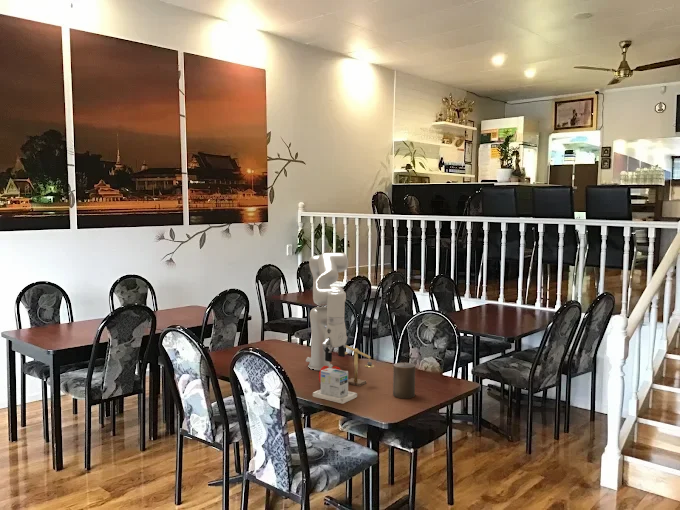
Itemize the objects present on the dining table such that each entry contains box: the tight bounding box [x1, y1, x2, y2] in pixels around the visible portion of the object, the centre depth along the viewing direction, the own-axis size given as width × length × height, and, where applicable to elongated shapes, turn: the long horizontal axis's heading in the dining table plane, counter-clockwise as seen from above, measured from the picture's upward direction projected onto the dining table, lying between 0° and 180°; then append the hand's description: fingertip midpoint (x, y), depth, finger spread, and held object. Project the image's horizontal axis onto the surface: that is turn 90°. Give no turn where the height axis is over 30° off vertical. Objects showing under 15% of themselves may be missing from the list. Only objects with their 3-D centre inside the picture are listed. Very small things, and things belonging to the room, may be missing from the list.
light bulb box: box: [320, 368, 349, 398], centre depth 259 cm, size 11×7×11 cm, turn 56°
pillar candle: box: [392, 361, 416, 399], centre depth 263 cm, size 10×10×15 cm
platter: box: [312, 388, 358, 404], centre depth 260 cm, size 16×11×2 cm
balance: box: [345, 344, 376, 387], centre depth 280 cm, size 20×6×18 cm, turn 55°
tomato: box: [318, 365, 342, 385], centre depth 276 cm, size 11×12×9 cm
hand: (335, 358), depth 260 cm, fingers open, 9 cm apart
